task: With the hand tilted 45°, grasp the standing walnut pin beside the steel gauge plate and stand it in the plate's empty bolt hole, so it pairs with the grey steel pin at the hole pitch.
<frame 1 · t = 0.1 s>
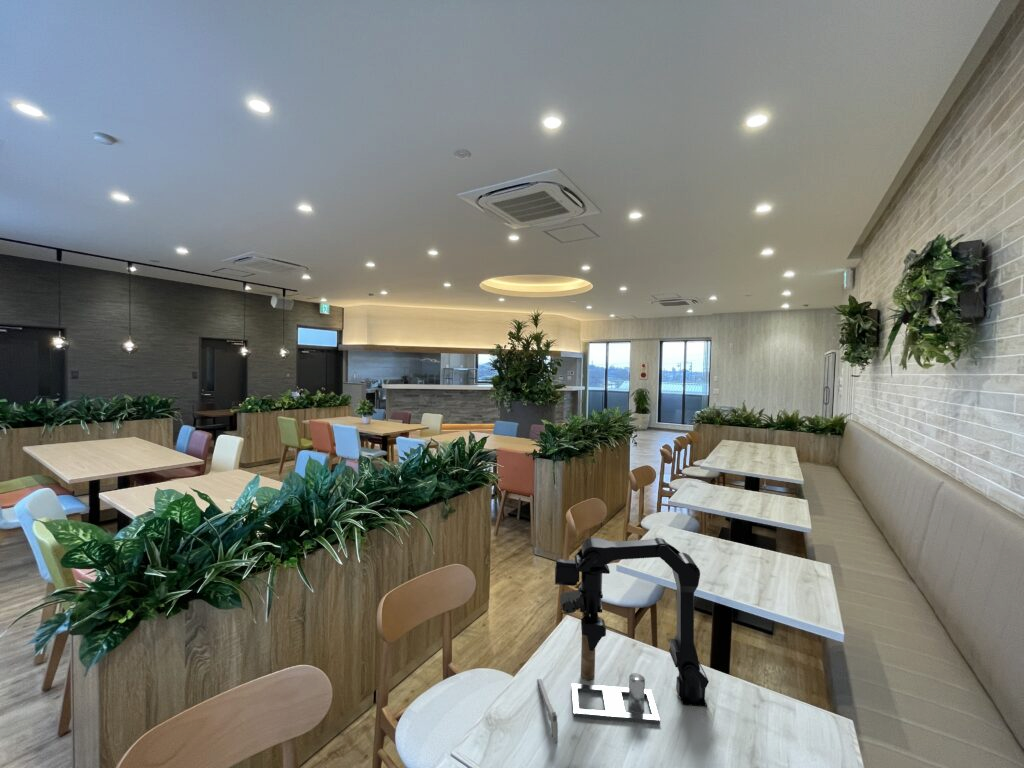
hand: (589, 639, 119), 15 cm above the table, tool pointing down, fingers open, 9 cm apart
gauge plate: (613, 705, 115), on the table
steel pin: (636, 706, 114), resting in gauge plate
walnut pin: (587, 675, 125), on the table
caliper: (546, 710, 113), on the table
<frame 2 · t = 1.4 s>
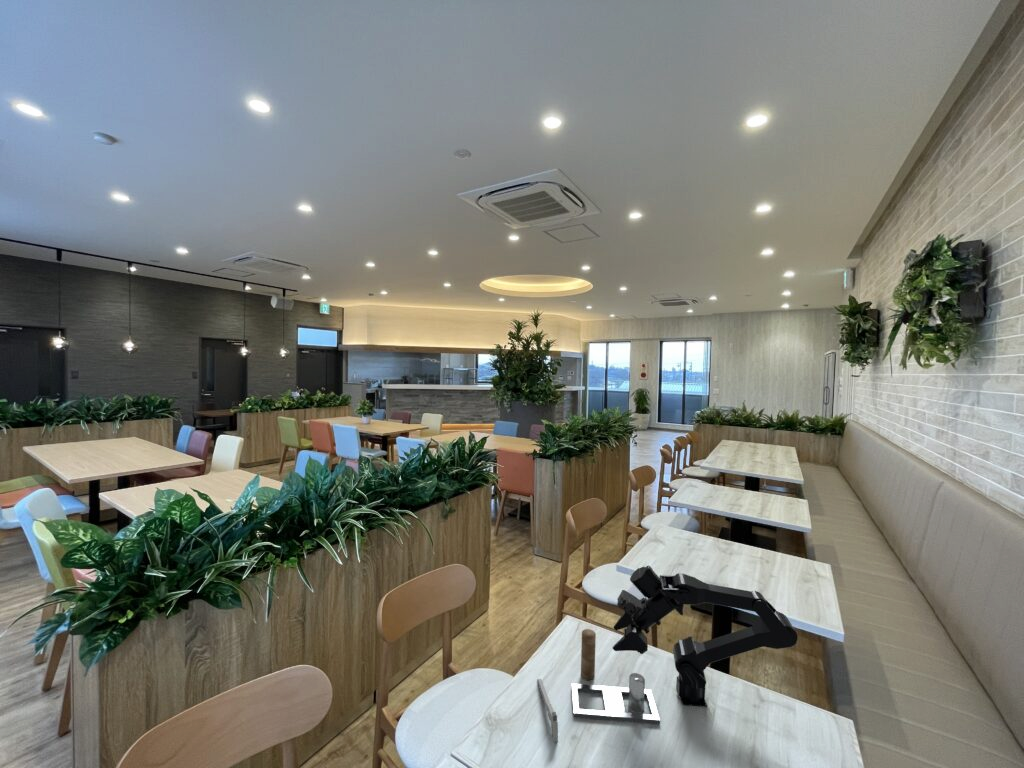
hand: (614, 638, 122), 13 cm above the table, tool tilted 45°, fingers open, 9 cm apart
nothing on the table moved.
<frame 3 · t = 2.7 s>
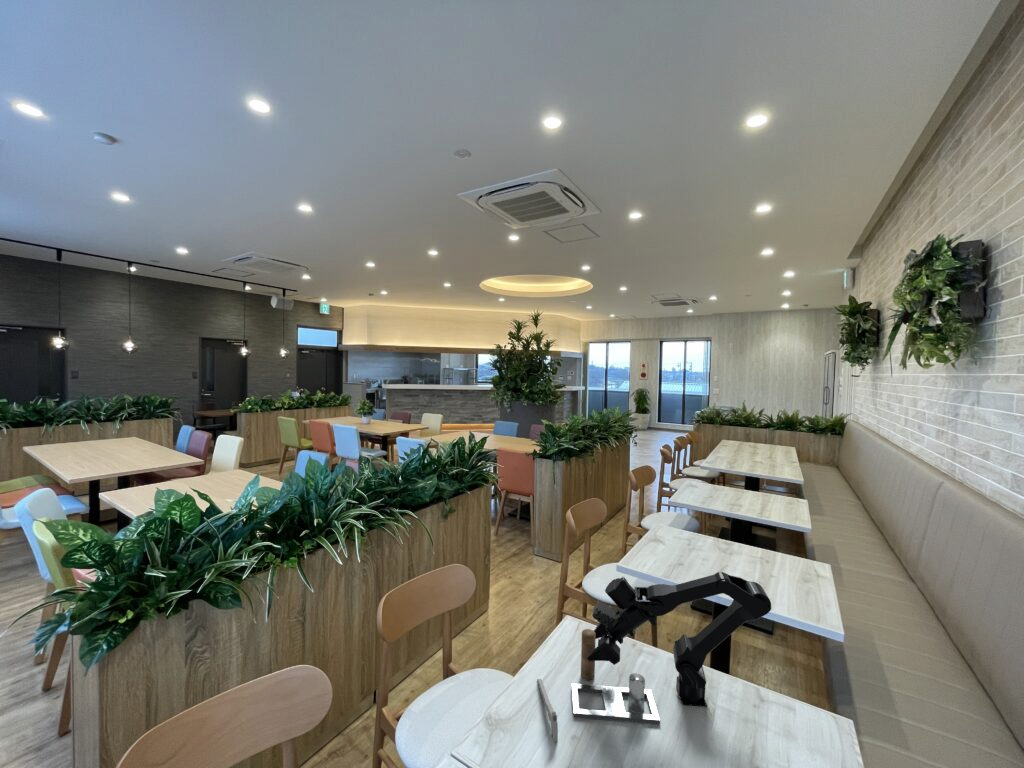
hand: (589, 648, 124), 8 cm above the table, tool tilted 45°, fingers open, 9 cm apart
nothing on the table moved.
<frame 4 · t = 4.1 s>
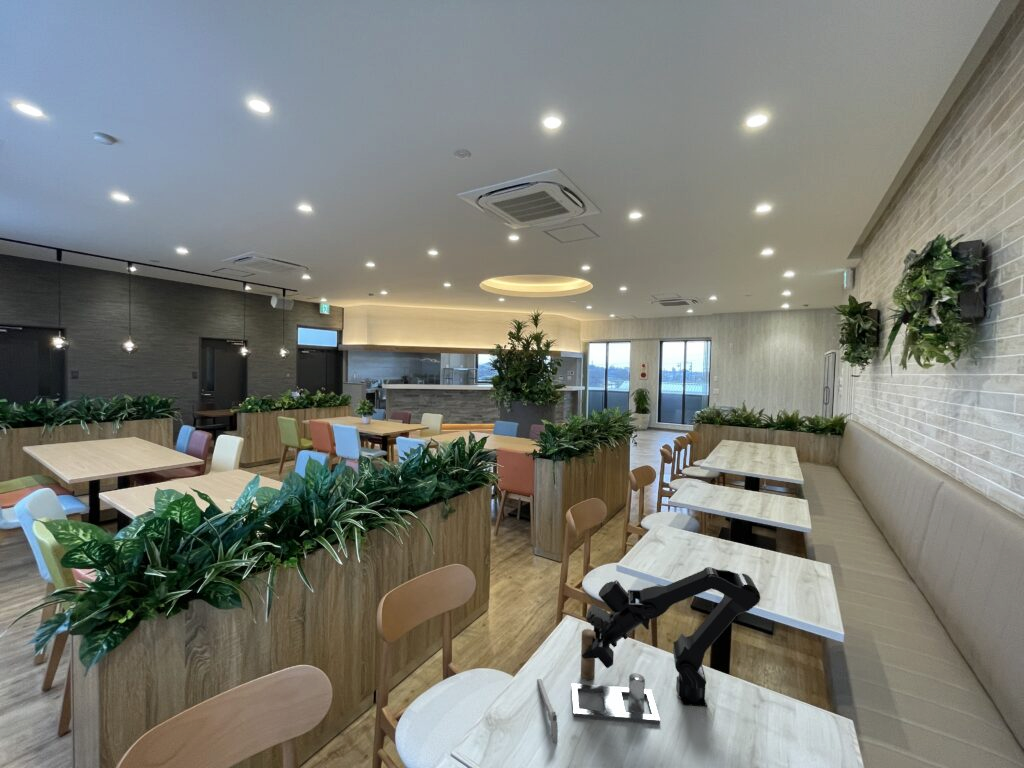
hand: (583, 651, 125), 7 cm above the table, tool tilted 45°, fingers closed on walnut pin, 4 cm apart
walnut pin: (587, 675, 125), on the table, touching gripper
everything else where it was.
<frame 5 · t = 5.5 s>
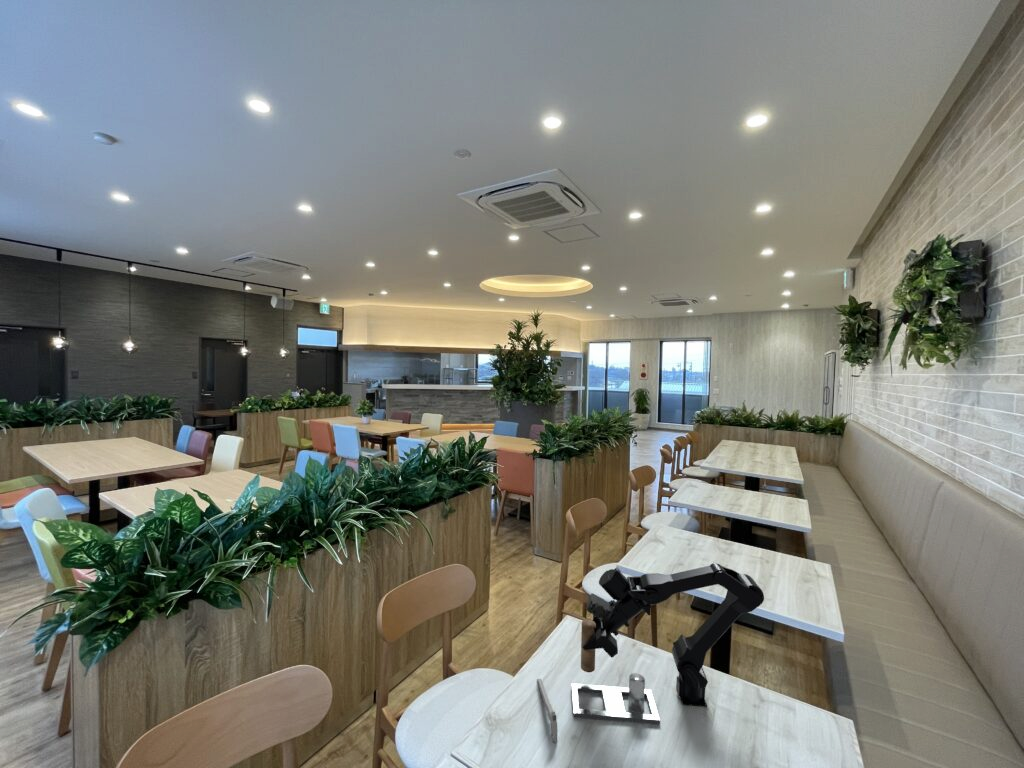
hand: (583, 643, 121), 12 cm above the table, tool tilted 45°, fingers closed on walnut pin, 4 cm apart
walnut pin: (587, 667, 122), point 5 cm above the table, touching gripper
everything else where it was.
when the fingers open (8 cm above the table, at t = 7.4 s): walnut pin drops 1 cm, resting in gauge plate.
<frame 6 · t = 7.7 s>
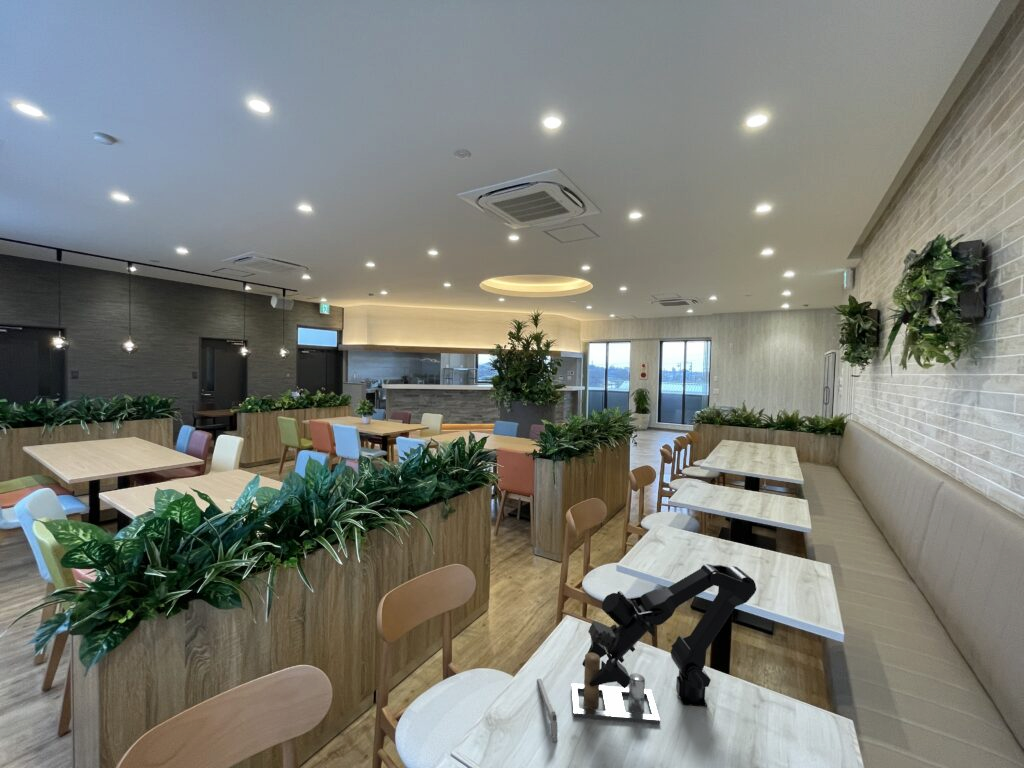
hand: (586, 674, 114), 8 cm above the table, tool tilted 45°, fingers open, 7 cm apart
walnut pin: (591, 703, 115), resting in gauge plate
everything else where it was.
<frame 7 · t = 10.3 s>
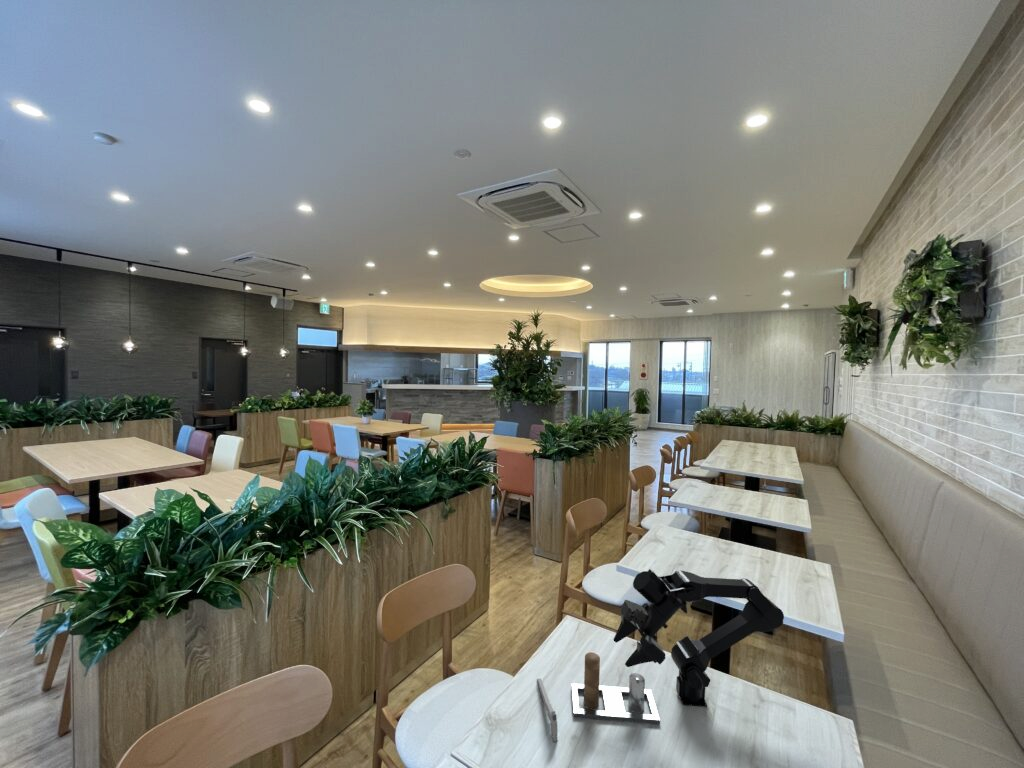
hand: (620, 653, 115), 14 cm above the table, tool tilted 45°, fingers open, 9 cm apart
nothing on the table moved.
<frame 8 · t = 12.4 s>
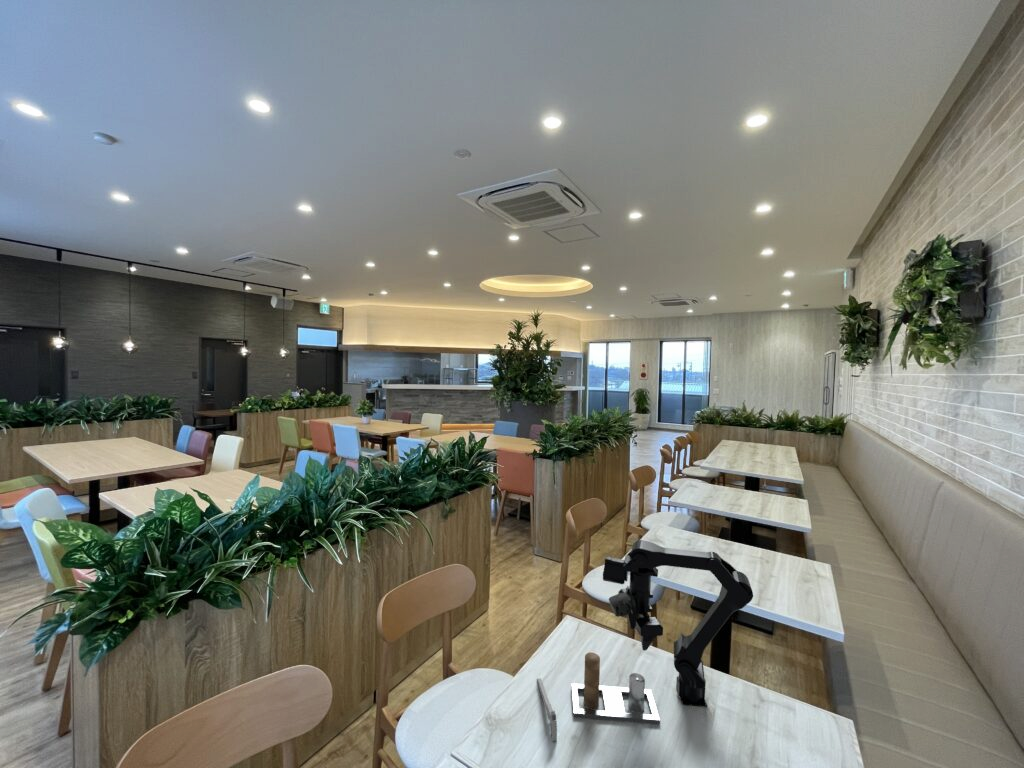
hand: (638, 639, 122), 13 cm above the table, tool pointing down, fingers open, 9 cm apart
nothing on the table moved.
at the end: walnut pin 0.1 cm from the target spot on the gauge plate, point 0.0 cm above the gauge plate's base; walnut pin tilted 0°; the gripper is holding nothing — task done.
